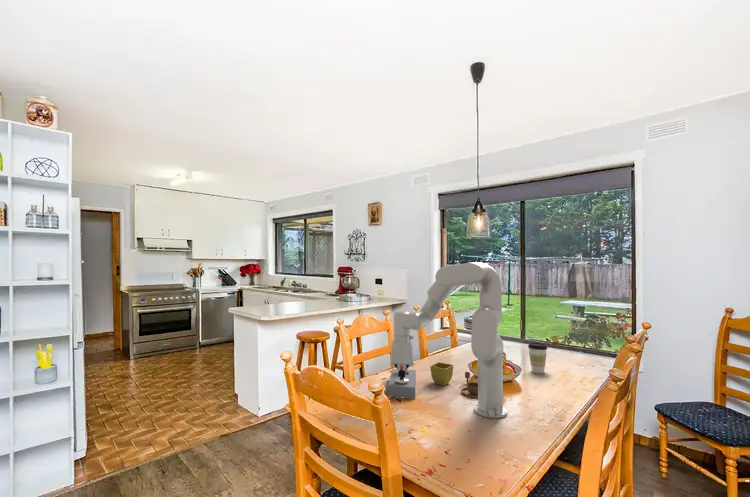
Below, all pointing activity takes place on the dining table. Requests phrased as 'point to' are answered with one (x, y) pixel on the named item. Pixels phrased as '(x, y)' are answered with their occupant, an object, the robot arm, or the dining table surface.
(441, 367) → the flower pot
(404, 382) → the metal plunger
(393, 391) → the block
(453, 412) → the dining table surface
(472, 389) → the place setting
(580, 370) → the dining table surface
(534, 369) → the coffee cup
